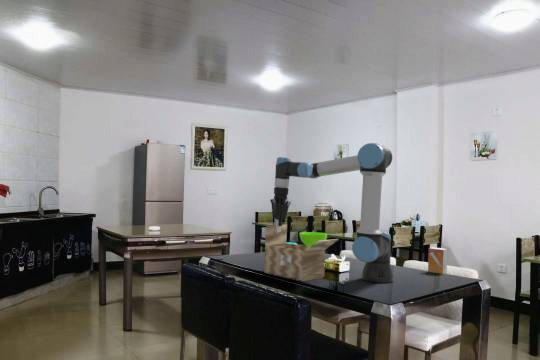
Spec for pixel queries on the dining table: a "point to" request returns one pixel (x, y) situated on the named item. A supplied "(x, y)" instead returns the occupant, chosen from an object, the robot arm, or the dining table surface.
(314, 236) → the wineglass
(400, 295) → the dining table surface
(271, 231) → the far flap
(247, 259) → the dining table surface
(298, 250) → the carton
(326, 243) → the near flap
